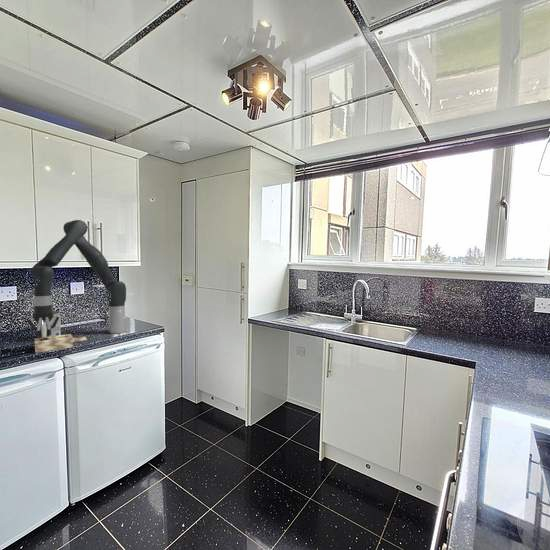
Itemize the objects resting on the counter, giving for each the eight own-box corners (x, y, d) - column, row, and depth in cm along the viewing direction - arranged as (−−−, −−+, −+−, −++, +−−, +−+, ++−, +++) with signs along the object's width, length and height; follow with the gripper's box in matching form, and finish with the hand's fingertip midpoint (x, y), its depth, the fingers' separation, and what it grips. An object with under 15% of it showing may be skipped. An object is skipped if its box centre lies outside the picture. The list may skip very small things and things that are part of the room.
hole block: (70, 342, 170) (70, 333, 170) (73, 346, 162) (73, 337, 162) (34, 347, 160) (34, 338, 159) (35, 352, 152) (35, 343, 152)
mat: (85, 337, 181) (85, 336, 181) (87, 340, 176) (87, 339, 176) (69, 339, 176) (69, 338, 176) (70, 342, 170) (70, 341, 170)
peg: (47, 341, 160) (47, 319, 160) (48, 342, 158) (47, 320, 157) (40, 342, 159) (39, 319, 158) (41, 343, 156) (40, 320, 155)
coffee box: (40, 338, 176) (39, 311, 175) (53, 336, 182) (52, 309, 181) (49, 341, 172) (48, 313, 171) (61, 338, 178) (60, 311, 177)
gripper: (59, 302, 164) (59, 333, 165) (25, 304, 155) (26, 337, 156) (60, 304, 159) (61, 336, 160) (25, 306, 150) (27, 340, 151)
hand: (44, 336), depth 158 cm, fingers closed on peg, 3 cm apart
